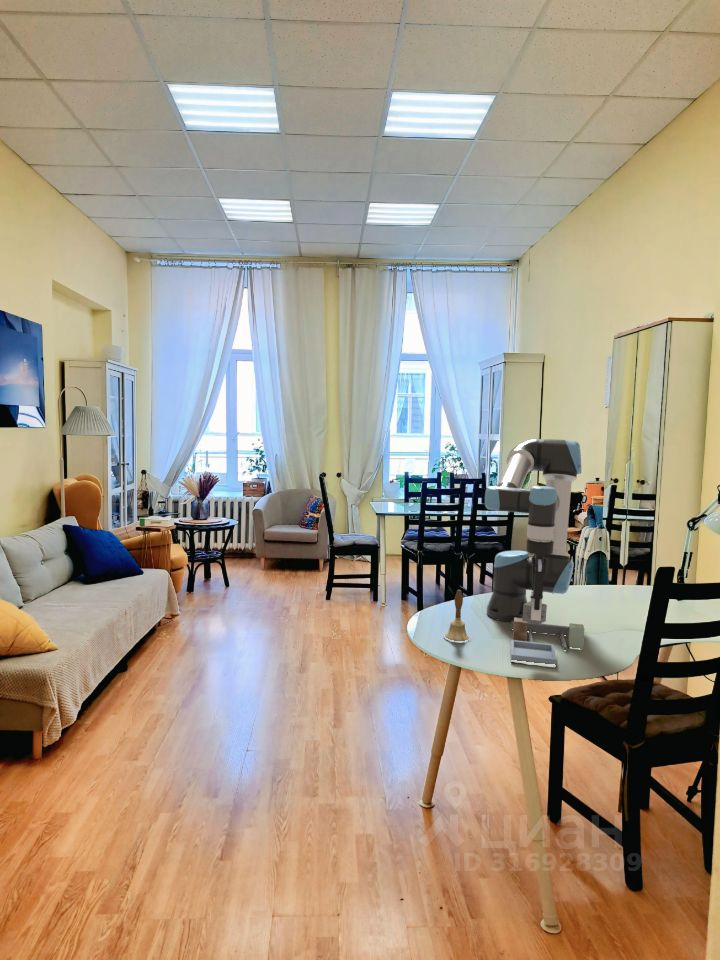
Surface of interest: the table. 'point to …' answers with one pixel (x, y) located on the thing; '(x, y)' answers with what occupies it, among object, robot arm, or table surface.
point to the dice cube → (527, 613)
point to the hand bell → (457, 622)
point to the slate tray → (533, 652)
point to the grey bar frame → (547, 630)
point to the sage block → (576, 635)
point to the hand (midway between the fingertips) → (535, 616)
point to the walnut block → (519, 630)
